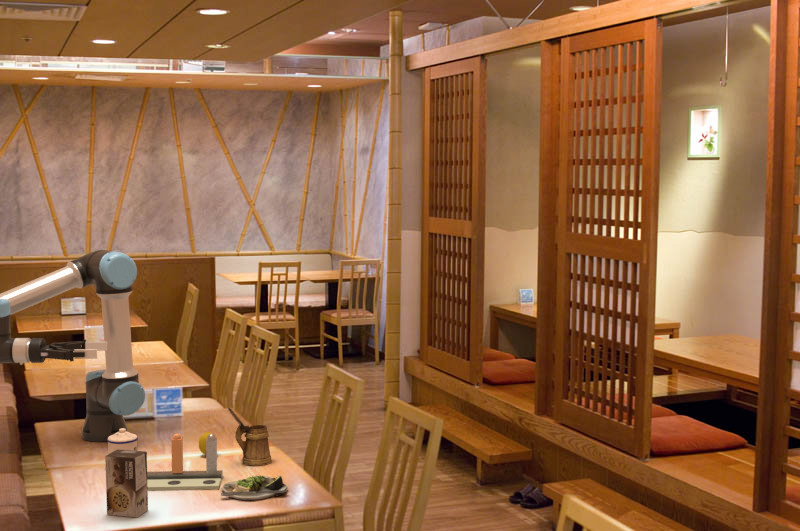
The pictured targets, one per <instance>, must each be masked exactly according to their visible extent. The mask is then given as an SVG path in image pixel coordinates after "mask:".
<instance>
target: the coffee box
mask: <svg viewBox="0 0 800 531" xmlns="http://www.w3.org/2000/svg"><path fill="white" fill-rule="evenodd" d="M104 458H105V461H104V462H105V463H104V464H105V465H104V466H105V487H106V488H105V489H106V515H107V514H108V515H107V516H116V515H117V516H118V517H128V518H129V517H130V518H138V517H140V516H141V515H143V514H145V513H146V512H148V511H149V498H148V497H149V496H148V494H149V493H148V492H149V491H148V487H147V472H148V452H147V451H144V450H141V451H140V450H137V451H132V450H115V451H113V452H112V453H110V454H108V453H107V454H106V455H104Z"/></svg>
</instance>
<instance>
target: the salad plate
mask: <svg viewBox="0 0 800 531" xmlns="http://www.w3.org/2000/svg"><path fill="white" fill-rule="evenodd" d="M287 489H288V486H287V485H286V484H285V483H284V482H283V477H282V476H281V475H278V476H277V477H271V476H267V475H265V476H264V475H252V476H248V477H246V478H243V479H237V480H234V481H228V482H226V483H224V484H222V487H221V490H222V491H223V492H221V493H220V496H222V497H229V498H231V499H234V500H235V499H236V500H243V501H258V500H265V499H268V498H274V497H279V496H281V495H283V494H285V493H287V492H288V490H287ZM234 490H235V491H234Z"/></svg>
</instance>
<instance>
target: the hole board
mask: <svg viewBox="0 0 800 531" xmlns="http://www.w3.org/2000/svg"><path fill="white" fill-rule="evenodd" d="M221 483H222V480H221V478H212V479H156V480H147V487H148V492H150V490H151V492H152V491H153V492H154V491H188V490H189V491H193V490H195V491H196V490H197V491H199V490H201V491H202V490H219V489H220V486H221Z"/></svg>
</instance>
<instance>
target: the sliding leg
mask: <svg viewBox="0 0 800 531" xmlns="http://www.w3.org/2000/svg"><path fill="white" fill-rule="evenodd" d="M183 438H184V437H183V436H182V435H181V433H179V432H178V433H175V434H174V435H173V436H172V438H171V471H172V473H182V471H184V452H183V451H184V447H183V446H184V444H183V442H184V441H183V440H184V439H183Z"/></svg>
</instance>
